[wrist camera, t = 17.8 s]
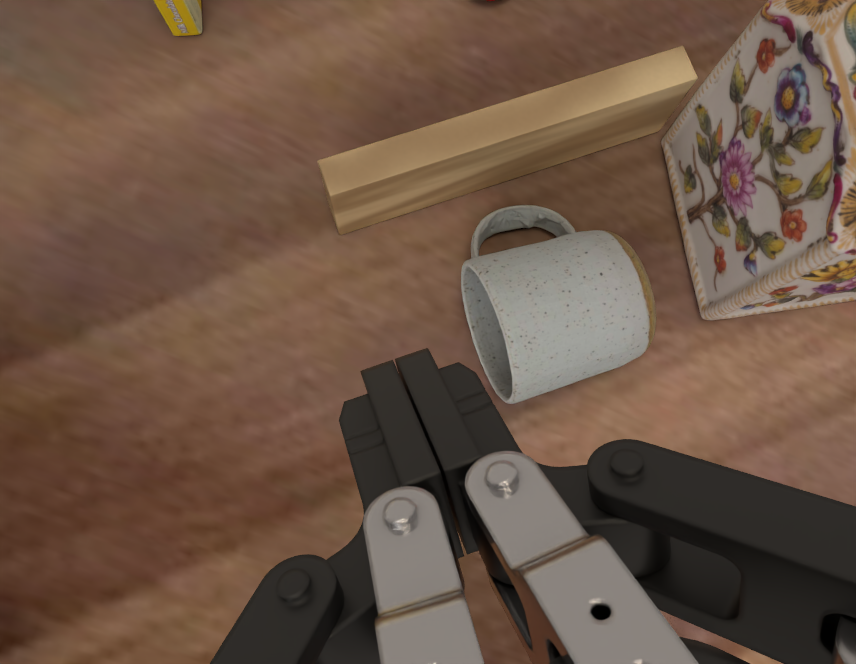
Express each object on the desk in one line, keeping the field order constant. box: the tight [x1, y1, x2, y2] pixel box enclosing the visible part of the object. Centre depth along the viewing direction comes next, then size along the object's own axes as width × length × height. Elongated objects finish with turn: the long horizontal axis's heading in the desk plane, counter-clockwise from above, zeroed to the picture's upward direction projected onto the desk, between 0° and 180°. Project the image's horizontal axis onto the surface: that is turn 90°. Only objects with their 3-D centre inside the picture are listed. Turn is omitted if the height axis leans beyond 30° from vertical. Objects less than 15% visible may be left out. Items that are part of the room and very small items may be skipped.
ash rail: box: [318, 46, 698, 235], centre depth 41 cm, size 2×20×6 cm, turn 109°
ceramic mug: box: [461, 205, 656, 404], centre depth 39 cm, size 11×8×8 cm
